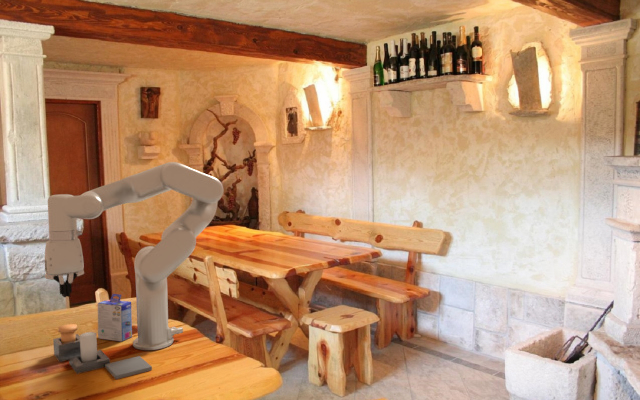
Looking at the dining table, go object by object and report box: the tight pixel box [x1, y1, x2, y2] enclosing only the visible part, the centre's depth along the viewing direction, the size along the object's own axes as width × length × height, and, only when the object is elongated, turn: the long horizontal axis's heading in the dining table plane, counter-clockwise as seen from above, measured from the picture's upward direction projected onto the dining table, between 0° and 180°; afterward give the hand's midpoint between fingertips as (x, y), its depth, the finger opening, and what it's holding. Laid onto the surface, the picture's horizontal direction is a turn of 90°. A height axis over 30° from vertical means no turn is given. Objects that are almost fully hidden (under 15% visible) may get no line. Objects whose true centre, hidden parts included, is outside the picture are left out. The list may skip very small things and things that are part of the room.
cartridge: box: [79, 331, 98, 363], centre depth 157 cm, size 4×4×9 cm
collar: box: [68, 349, 111, 375], centre depth 157 cm, size 9×9×2 cm
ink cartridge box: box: [97, 293, 133, 342], centre depth 178 cm, size 10×6×14 cm, turn 72°
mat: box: [104, 355, 153, 380], centre depth 154 cm, size 10×10×1 cm
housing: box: [53, 333, 81, 363], centre depth 164 cm, size 7×7×5 cm
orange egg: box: [58, 323, 78, 343], centre depth 163 cm, size 5×5×6 cm
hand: (65, 295), depth 162 cm, fingers closed
